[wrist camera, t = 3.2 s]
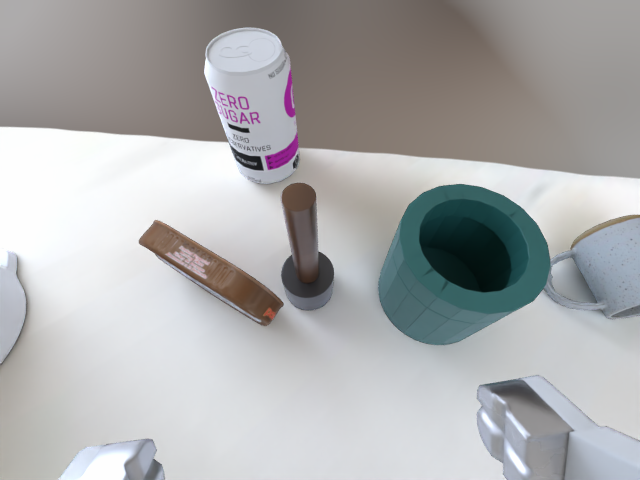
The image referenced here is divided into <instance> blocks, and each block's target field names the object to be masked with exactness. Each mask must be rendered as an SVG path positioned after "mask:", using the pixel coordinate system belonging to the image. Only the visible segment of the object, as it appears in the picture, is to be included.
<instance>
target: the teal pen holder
mask: <svg viewBox="0 0 640 480" xmlns="http://www.w3.org/2000/svg"><path fill="white" fill-rule="evenodd" d="M550 264H551V263H550V256H549V250H548V245H547V242H546V240H545V238H544V236H543V234H542V232H541V231H540V229H539V227H538V225H537V224H536V222H535V221H534V220H533V219H532V218H531V217H530V216H529V215H528V214H527V213H526V212H525V211H524V210H523V209H522V208H521V207H520V206H518V205H517V204H515V203H514V202H512V201H511V200H509V199H508V198H507V197H505V196H504V195H503V196H502V195H501V194H498V193H496V192H493V191H490V190H488V189H485V188H482V187H478V186H471V185H464V184H456V185H445V186H439V187H436V188H434V189H431V190H429V191H426V192H424V193H422V194H421V195H420V196H419V197H417V198H416V199H415V200H414V201H413V202H412V203H410V204H409V206H408V208H407V209H406V211H405V213H404V215H403V217H402V219H401V221H400V224H399V226H398V229H397V231H396V234H395V236H394V239H393V242H392V244H391V247H390V249H389V252H388V254H387V257H386V259H385V262H384V265H383V267H382V270H381V273H380V277H379V284H378V291H379V298H380V302H381V305H382V307H383V309H384V311H385V313H386V315H387V316H388V318H389V319H390V321H391V322H392V323H393V324H394V325H395V326H396V327H397V328H398V329H399V330H400V331H402V332H403V333H404V334H406V335H407V336H409V337H411V338H413V339H415V340H417V341H420V342H423V343H427V344H432V345H446V344H452V343H455V342H459V341H460V340H462V339H464V338H466V337H468V336H470V335H472V334H474V333H476V332H478V331H479V330H481V329H483V328H485V327H487V326H489V325H490V324H492V323H494V322H496V321H498V320H500V319H501V318H503V317H505V316H507V315H509V314H511V313H512V312H514V311H516V310H518V309H520V308H522V307H523V306H525V305H527V304H529V303H531V302H533V301H534V300H535V298H536V297H537V296H538V295H539V293H540V292H541V291H542V290H543V288H544V287H545V286H546V283H547V279H548V275H549V271H550V267H551V265H550Z"/></svg>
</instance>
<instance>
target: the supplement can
mask: <svg viewBox="0 0 640 480" xmlns="http://www.w3.org/2000/svg"><path fill="white" fill-rule="evenodd" d="M204 74H205V76H206V79H207V82H208V85H209V87H210V91H211V93H212V96H213V99H214V102H215V105H216V108H217V110H218V113H219V116H220V118H221V122H222V124H223V127H224V130H225V133H226V136H227V138H228V141H229V144H230V147H231V150H232V153H233V156H234V158H235V161H236V164H237V167H238V169H239V171H240V173H241V174H242V175H243V176H244V177H245V178H247V179H248V180H251V181H253V182H256V183H265V184H270V183H275V182H279V181H282V180H283V179H285V178H287V177H289V176H290V175H291V174H292V173H293V172H294V171H295V170H296V169H297V167H298V164H299V161H300V157H299V147H298V137H297V127H296V117H295V107H294V97H293V87H292V77H291V67H290V57H289V56H288V54H287V53H286V51H285V50H284V48H283V47H282V44H281V41H280V40H279V39H278V37H277V36H276V35H274V34H273V33H271V32H269V31H267V30H263V29H259V28H240V29H234V30H230V31H228V32H225V33H222V34H220V35H219V36H217V37H216V38H214V39H213V40H212V41H211V42H210V43H209V45H208V46H207V48H206V62H205V70H204Z"/></svg>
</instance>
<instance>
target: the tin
mask: <svg viewBox="0 0 640 480" xmlns="http://www.w3.org/2000/svg"><path fill="white" fill-rule="evenodd" d="M139 244H140V245H142V246H144V247H146V248H147V249H149V250H150V251H152V252H154V253H155V255H156V256H157V257H158V258H159V259H160V260H162V261H163V262H164V263H166V264H167V265H169V266H170V267H172V268H173V269H175V270H176V271H178V272H179V273H181V274H182V275H184V276H185V277H187V278H188V279H190V280H191V281H193V282H194V283H196V284H197V285H199V286H200V287H202V288H203V289H205V290H206V291H208V292H209V293H211V294H212V295H214V296H215V297H217V298H218V299H220V300H221V301H223V302H224V303H226V304H228V305H229V306H231V307H232V308H234V309H236V310H237V311H239V312H241V313H242V314H244V315H245V316H247V317H249V318H250V319H252V320H254V321H255V322H257V323H259V324H261V325H263V326H267V325H269V324H270V322H271V321H272V320H273V318H274V317H275V315H276V314H277V312H278V311H279V309H280V308H281V307H282V306H283V302H282V301H281V300H280V299H279V298H278V297H277V296H276V295H275V294H274V293H273V292H272V291H270V290H269V289H268V288H267V287H265V286H264V285H263V284H261V283H260V282H259V281H257V280H256V279H255V278H253V277H252V276H250V275H249V274H247V273H246V272H244V271H243V270H241V269H239V268H238V267H236V266H235V265H233V264H231V263H230V262H228V261H226V260H225V259H223V258H221V257H220V256H218V255H217V254H215V253H213V252H212V251H210V250H208V249H206V248H205V247H203V246H202V245H200V244H198V243H197V242H195V241H193V240H192V239H190V238H188V237H187V236H185V235H183V234H182V233H180V232H178V231H177V230H175V229H173V228H172V227H170V226H168V225H167V224H165V223H163V222H161V221H158V220H155V221H154V223H153V224H152V225H151V227H150V228H149V229H148V230H147V231H146V232H145V233H144V234H143V236H142V237H141V238H140V240H139Z"/></svg>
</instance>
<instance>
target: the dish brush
mask: <svg viewBox="0 0 640 480" xmlns="http://www.w3.org/2000/svg"><path fill="white" fill-rule="evenodd" d="M281 203H282V208H283V213H284V218H285V223H286V227H287V232H288V237H289V242H290V247H291V252H292V255H291V256H290V257H289V258H288V259H287V260H286V261H285V263H284V265H283V268H282V273H281V276H282V282H283V285H284V288H285V291H286V294H287V297H288V299H289V300H290V302H291V303H292V304H293V305H294V306H296V307H297V308H299V309H302V310H315V309H318V308H321V307H322V306H324V305H325V304H326V303H327V302H328V301H329V299H330V298H331V295H332V292H333V281H334V269H333V265H332V263H331V261H330V260H329V259H328V258H327V257H326V256H325V255H324V254H323V253H321V252H319V251H318V230H317V204H316V193H315V191H314V189H313V188H312V187H311V186H309V185H307V184H304V183H294V184H291V185H289V186H287V187H286V188H285V189H284V190H283V192H282V194H281Z"/></svg>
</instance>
